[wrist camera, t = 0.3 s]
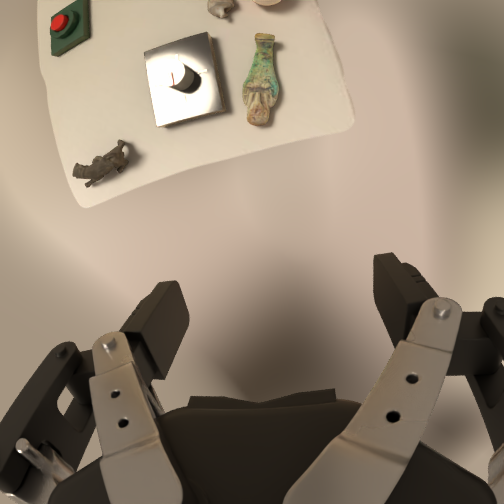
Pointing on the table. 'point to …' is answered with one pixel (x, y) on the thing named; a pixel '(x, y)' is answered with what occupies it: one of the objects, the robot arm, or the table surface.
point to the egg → (266, 2)
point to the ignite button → (59, 22)
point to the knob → (175, 75)
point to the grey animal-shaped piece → (102, 165)
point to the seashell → (220, 7)
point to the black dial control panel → (198, 93)
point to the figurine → (261, 82)
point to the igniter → (71, 28)
